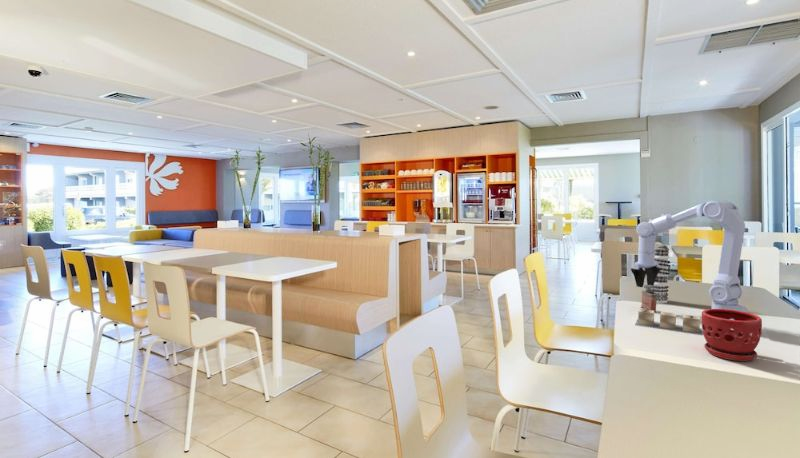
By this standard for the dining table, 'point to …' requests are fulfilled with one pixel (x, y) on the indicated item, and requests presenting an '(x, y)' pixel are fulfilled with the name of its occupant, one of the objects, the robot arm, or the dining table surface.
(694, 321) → the block one
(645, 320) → the block seven
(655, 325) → the felt strip
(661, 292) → the decorative candle
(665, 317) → the plain block
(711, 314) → the plant pot
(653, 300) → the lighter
